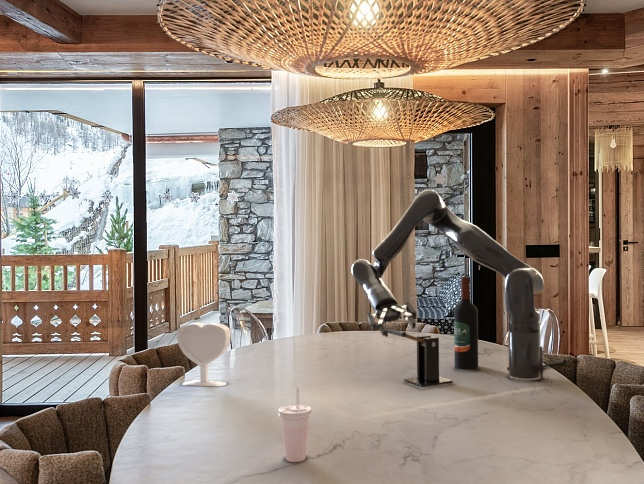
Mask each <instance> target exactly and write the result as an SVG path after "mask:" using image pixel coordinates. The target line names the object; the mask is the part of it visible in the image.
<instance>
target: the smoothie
mask: <svg viewBox="0 0 644 484" xmlns="http://www.w3.org/2000/svg"><path fill="white" fill-rule="evenodd" d="M311 415H312V407H310V406H309V405H305V404H300V387H299V386H296V387H295V404H288V405H284V406H281V407H279V408H278V417H280V424H281V425H280V426H281V430H282V440H283V447H284V455H285V460H286V461H287V462H290V463H300V462H303V461H305V460H306V452H307V444H308V434H309V427H310V426H309V425H310V418H311V417H310V416H311Z"/></svg>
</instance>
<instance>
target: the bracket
mask: <svg viewBox="0 0 644 484" xmlns="http://www.w3.org/2000/svg"><path fill="white" fill-rule="evenodd" d="M416 337H417V338H420V339H423V337H424V339H425V346H422V345H421V342H418V341H416V377H408V378H404V379H403V381H404V382H406V383H409V384H410V385H411V384H412V385H414V386H416V387H419V388H424V387H425V388H426V387H432V386H437V385H438V386H439V385H445V384H451V383H453V380H452V379H449V378H446V377H443V376H440V336H433V337H432V335H430V334H426V335H417V336H416Z"/></svg>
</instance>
